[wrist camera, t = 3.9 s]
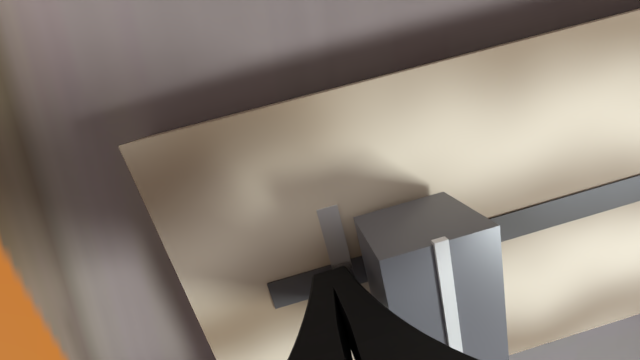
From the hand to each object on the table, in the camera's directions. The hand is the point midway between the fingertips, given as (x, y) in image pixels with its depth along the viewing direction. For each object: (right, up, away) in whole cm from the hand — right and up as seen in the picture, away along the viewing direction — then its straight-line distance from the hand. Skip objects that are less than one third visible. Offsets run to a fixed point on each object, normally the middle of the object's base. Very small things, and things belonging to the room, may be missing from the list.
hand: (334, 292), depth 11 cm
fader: (+3, +1, +1) cm, 3 cm away
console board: (+7, +3, +4) cm, 8 cm away
